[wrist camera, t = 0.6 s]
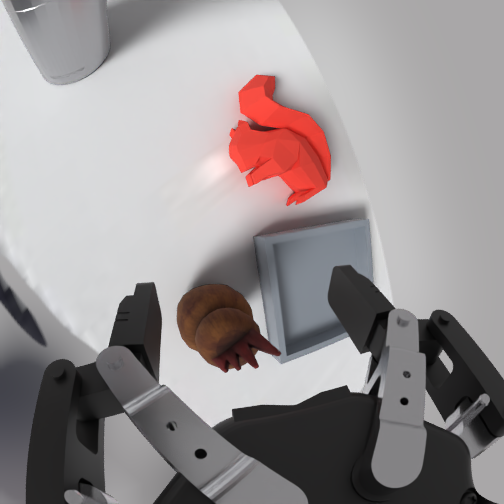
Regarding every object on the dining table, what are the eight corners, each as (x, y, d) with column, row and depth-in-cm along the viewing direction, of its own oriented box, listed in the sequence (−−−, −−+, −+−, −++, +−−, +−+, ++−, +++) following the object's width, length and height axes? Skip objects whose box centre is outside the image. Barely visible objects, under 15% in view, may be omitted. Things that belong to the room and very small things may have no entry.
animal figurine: (269, 77, 30) (287, 57, 25) (328, 175, 33) (354, 168, 29) (189, 109, 27) (197, 87, 22) (258, 222, 30) (279, 220, 26)
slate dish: (253, 236, 30) (264, 237, 27) (353, 218, 35) (368, 218, 32) (270, 353, 32) (281, 364, 30) (359, 319, 37) (373, 324, 35)
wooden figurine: (228, 272, 30) (298, 312, 16) (238, 320, 31) (308, 387, 17) (167, 288, 27) (185, 350, 13) (181, 337, 28) (213, 424, 14)
